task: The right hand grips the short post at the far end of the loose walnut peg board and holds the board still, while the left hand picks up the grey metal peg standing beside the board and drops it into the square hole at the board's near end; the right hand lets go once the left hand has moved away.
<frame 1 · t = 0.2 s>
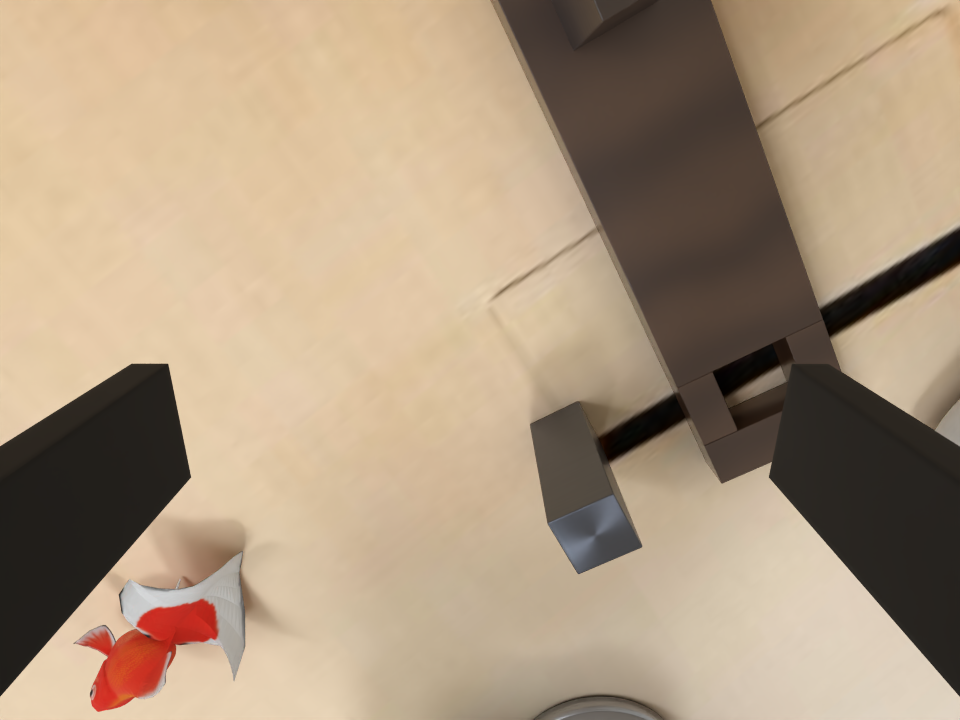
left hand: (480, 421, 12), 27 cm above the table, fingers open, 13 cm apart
fish: (191, 590, 48), on the table
peg: (565, 433, 43), on the table
peg board: (679, 218, 38), on the table
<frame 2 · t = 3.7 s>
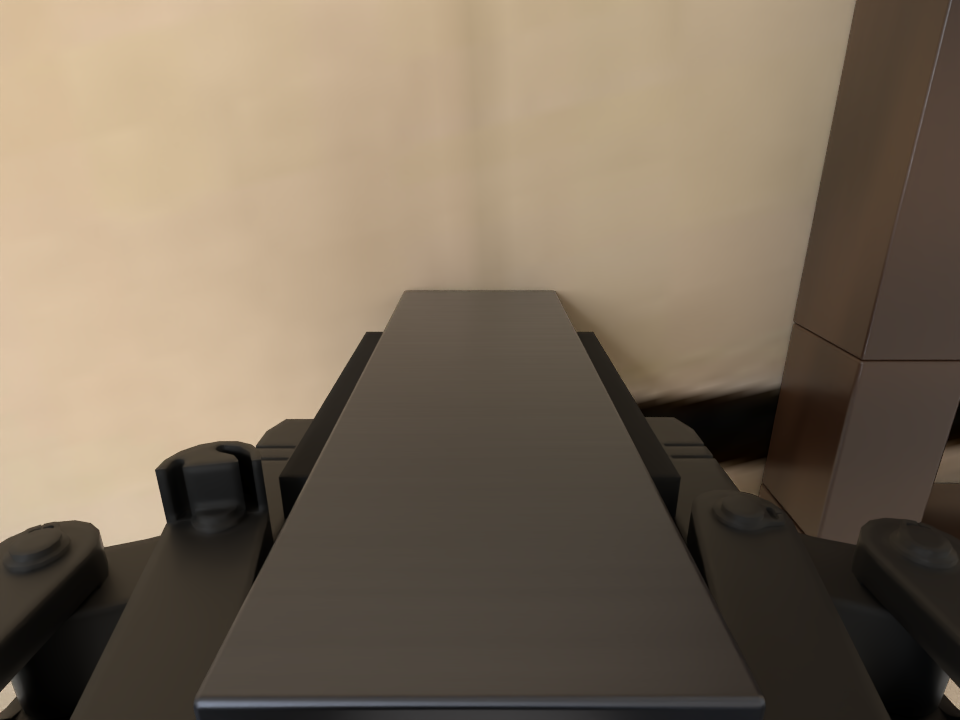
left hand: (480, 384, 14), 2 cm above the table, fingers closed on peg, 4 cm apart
peg: (479, 361, 16), on the table, touching left hand
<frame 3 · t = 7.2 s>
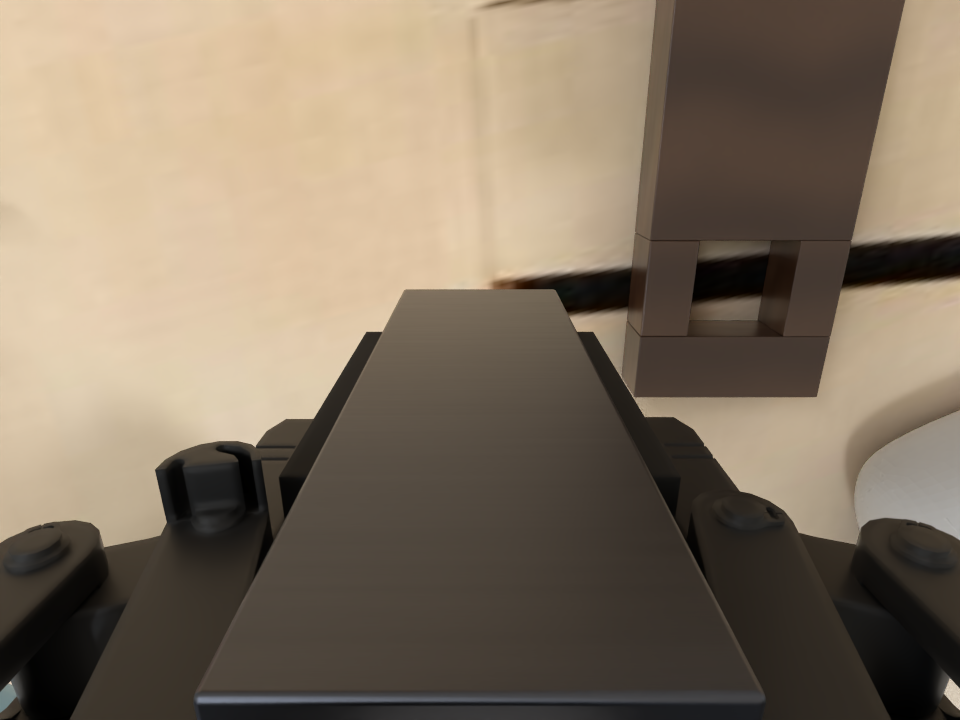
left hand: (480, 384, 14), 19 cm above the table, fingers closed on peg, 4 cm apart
peg: (479, 360, 16), point 17 cm above the table, touching left hand
peg board: (755, 33, 28), on the table, touching right hand
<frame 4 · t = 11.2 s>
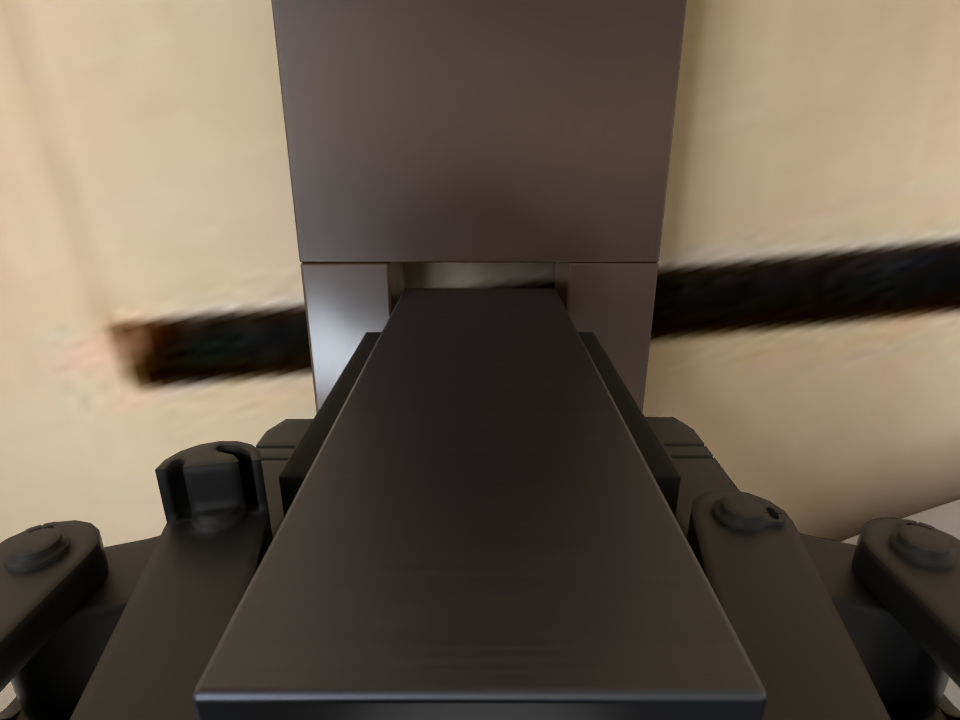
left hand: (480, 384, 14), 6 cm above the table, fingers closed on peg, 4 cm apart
peg: (479, 359, 16), point 4 cm above the table, touching left hand
when the left hand's fingers open (6 cm above the table, at t = 11.8 s): peg drops 4 cm, resting in peg board.
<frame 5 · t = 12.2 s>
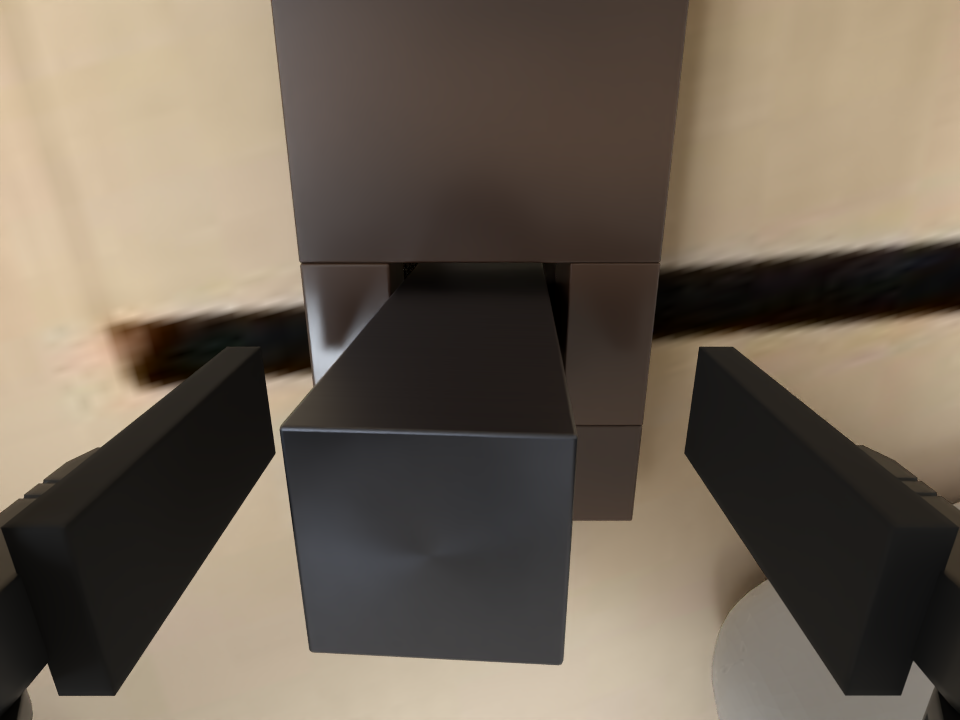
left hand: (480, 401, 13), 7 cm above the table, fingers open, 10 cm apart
peg: (480, 319, 20), resting in peg board
when the right hand's fingers open (7 cm above the table, at t = 15.3 s): peg board stays where it is, on the table.
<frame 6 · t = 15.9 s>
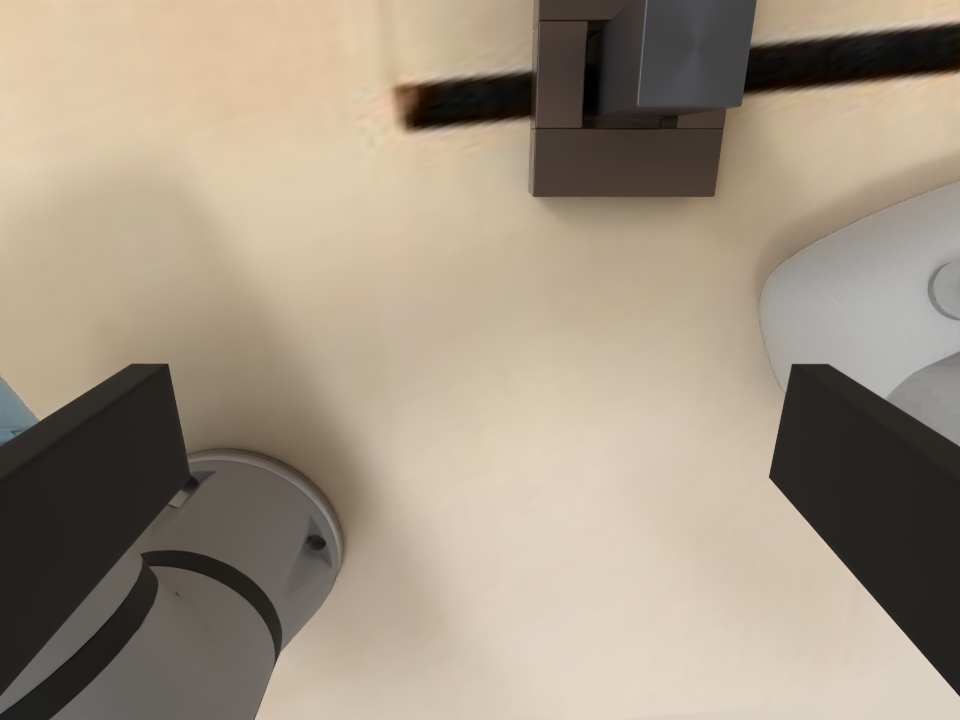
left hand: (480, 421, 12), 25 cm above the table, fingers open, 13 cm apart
projector: (928, 291, 37), on the table
peg: (621, 81, 32), resting in peg board
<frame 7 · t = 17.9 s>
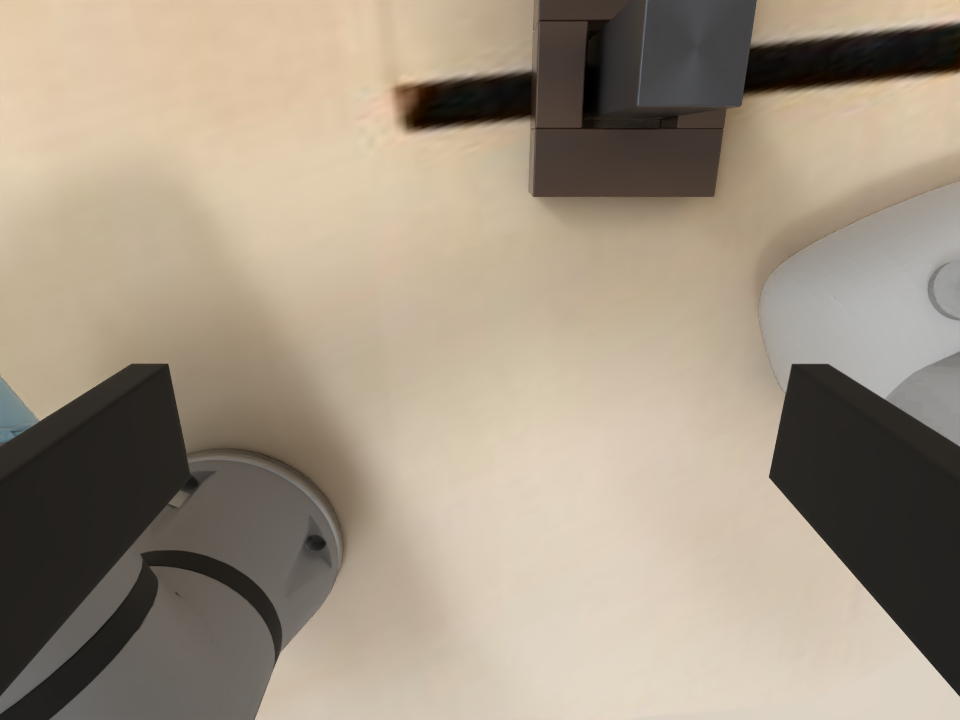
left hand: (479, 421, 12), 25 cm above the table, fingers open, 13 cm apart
projector: (928, 291, 37), on the table
peg: (621, 81, 32), resting in peg board
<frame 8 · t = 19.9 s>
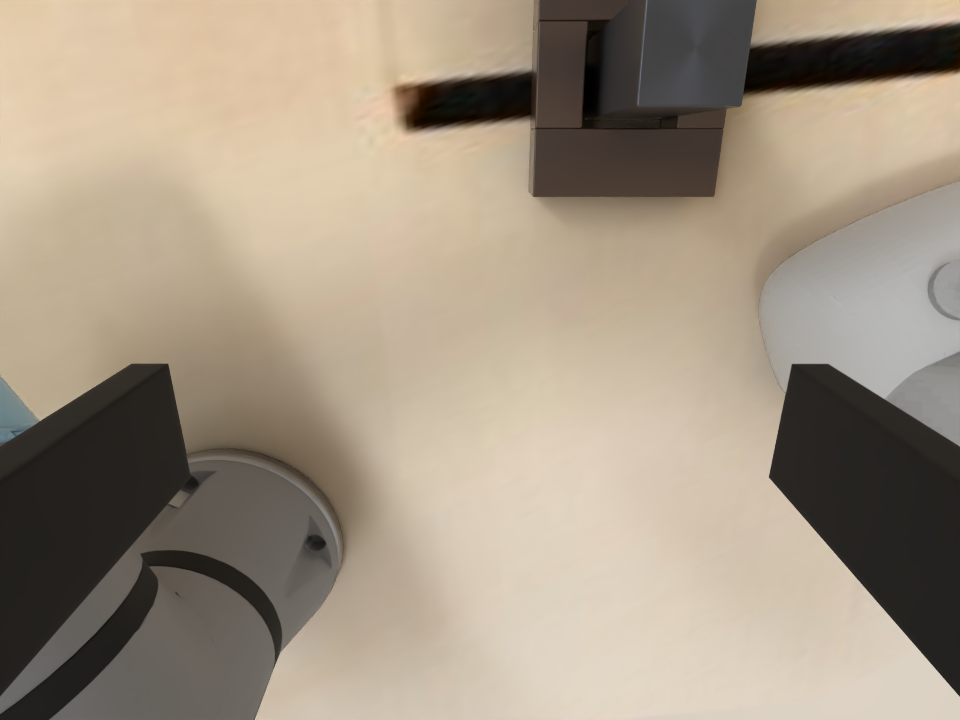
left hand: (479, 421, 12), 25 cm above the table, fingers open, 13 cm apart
projector: (928, 291, 37), on the table
peg: (621, 81, 32), resting in peg board
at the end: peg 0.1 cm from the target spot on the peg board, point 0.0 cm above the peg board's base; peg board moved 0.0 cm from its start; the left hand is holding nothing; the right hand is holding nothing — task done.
